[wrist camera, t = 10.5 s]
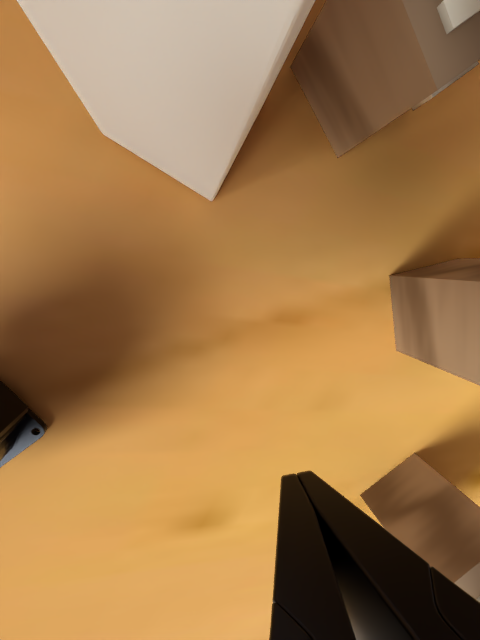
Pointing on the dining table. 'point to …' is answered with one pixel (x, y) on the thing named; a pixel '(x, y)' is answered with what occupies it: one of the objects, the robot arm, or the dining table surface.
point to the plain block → (440, 316)
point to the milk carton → (172, 73)
